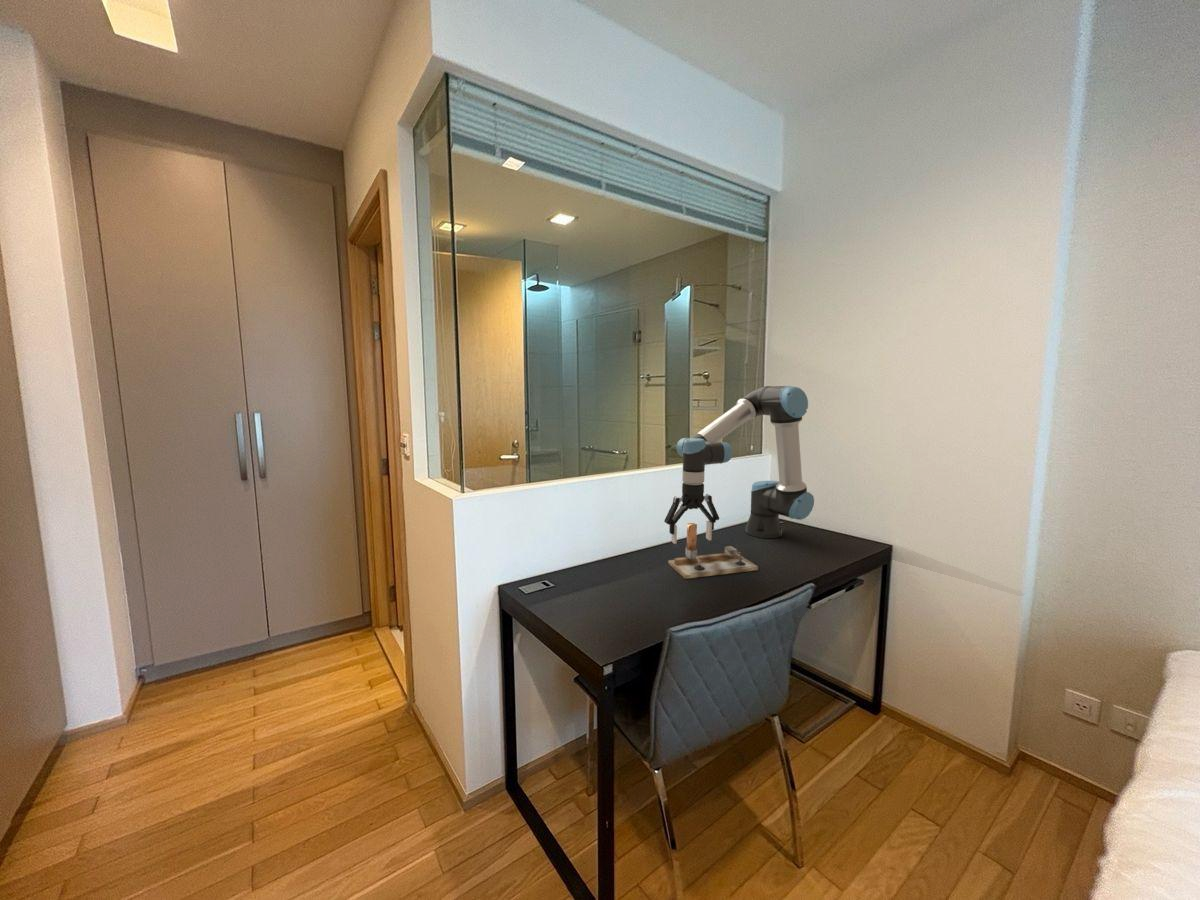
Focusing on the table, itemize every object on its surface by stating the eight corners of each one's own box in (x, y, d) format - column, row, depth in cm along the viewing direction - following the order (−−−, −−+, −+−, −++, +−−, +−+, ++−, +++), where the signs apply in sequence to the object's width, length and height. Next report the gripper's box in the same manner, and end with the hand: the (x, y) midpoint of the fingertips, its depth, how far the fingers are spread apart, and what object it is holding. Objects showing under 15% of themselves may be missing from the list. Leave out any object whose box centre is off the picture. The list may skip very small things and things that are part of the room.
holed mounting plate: (736, 556, 181) (736, 543, 180) (758, 569, 167) (758, 556, 167) (668, 563, 173) (668, 550, 172) (685, 578, 160) (685, 564, 159)
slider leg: (692, 557, 173) (693, 522, 171) (704, 567, 165) (705, 529, 163) (684, 558, 172) (685, 523, 170) (695, 568, 164) (696, 530, 162)
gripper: (719, 478, 174) (717, 534, 177) (655, 482, 167) (654, 540, 170) (730, 482, 167) (728, 541, 170) (664, 487, 160) (663, 547, 163)
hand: (691, 541), depth 170 cm, fingers open, 13 cm apart
